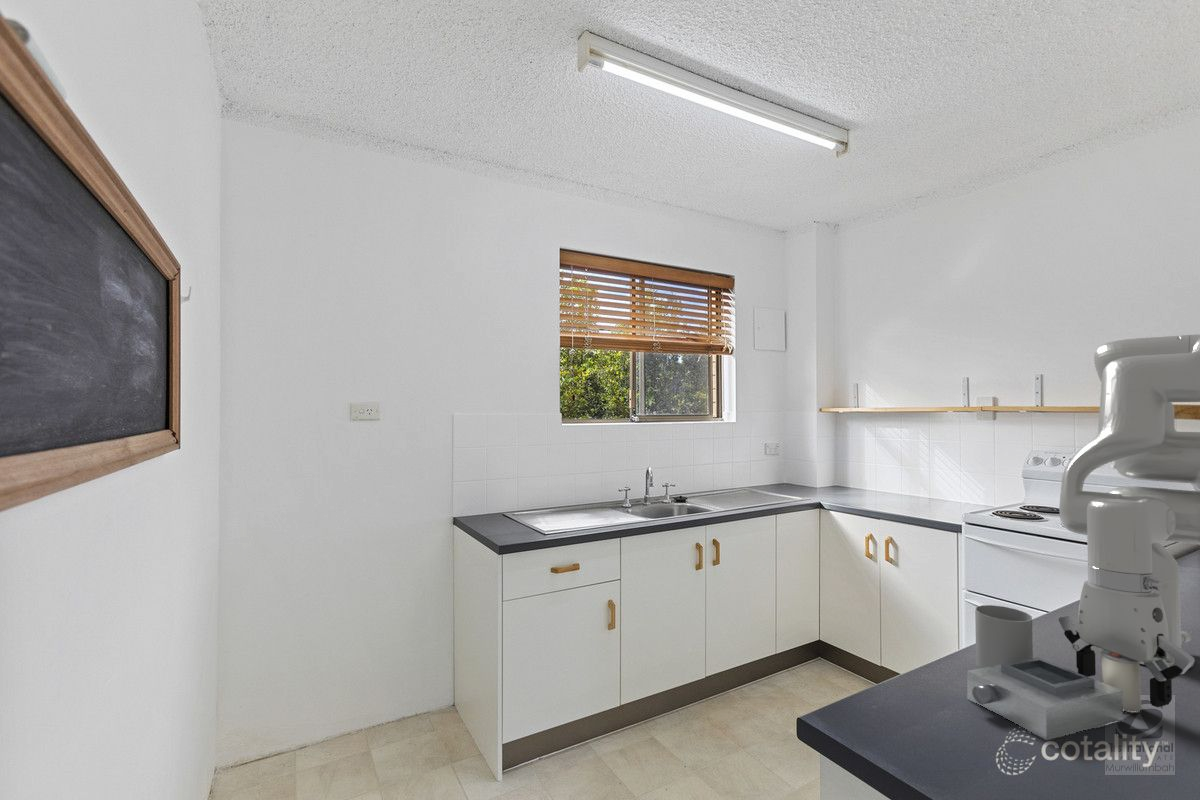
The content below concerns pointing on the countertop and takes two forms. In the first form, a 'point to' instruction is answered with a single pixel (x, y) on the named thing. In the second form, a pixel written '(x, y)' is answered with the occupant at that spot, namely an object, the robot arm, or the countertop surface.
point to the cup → (1002, 635)
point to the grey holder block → (1045, 697)
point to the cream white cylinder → (1123, 678)
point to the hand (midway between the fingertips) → (1121, 689)
